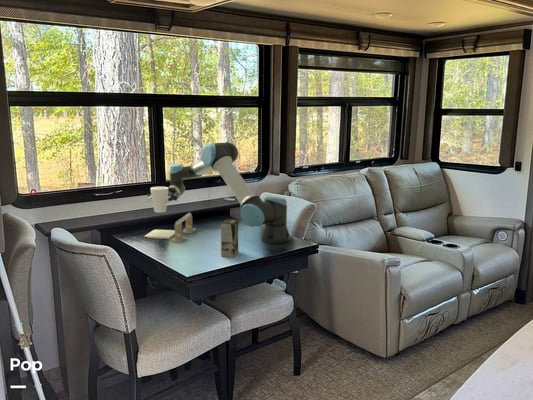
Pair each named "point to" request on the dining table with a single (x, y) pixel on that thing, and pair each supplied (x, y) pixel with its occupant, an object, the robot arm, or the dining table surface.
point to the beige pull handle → (178, 230)
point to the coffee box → (229, 238)
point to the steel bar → (183, 218)
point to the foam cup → (159, 198)
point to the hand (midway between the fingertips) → (156, 200)
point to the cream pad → (161, 234)
